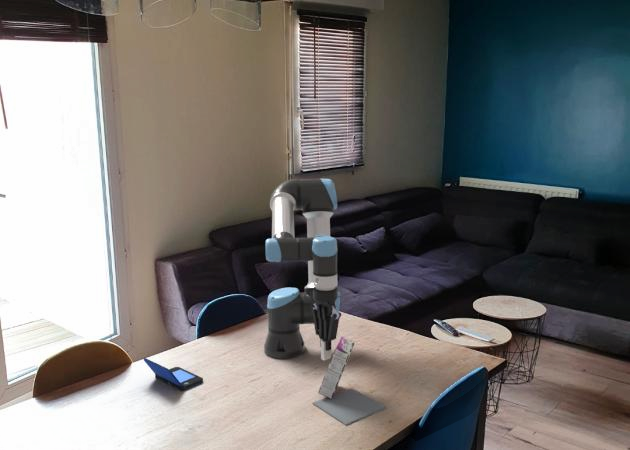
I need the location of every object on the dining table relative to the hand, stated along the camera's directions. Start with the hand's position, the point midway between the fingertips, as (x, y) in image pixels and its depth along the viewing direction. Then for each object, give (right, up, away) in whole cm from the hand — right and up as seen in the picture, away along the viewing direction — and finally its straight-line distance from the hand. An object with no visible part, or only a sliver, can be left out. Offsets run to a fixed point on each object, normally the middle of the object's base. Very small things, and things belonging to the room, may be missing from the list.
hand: (325, 358), depth 192 cm
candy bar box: (0, -10, +2) cm, 11 cm away
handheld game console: (-51, -11, +12) cm, 53 cm away
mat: (+7, -13, -6) cm, 16 cm away
